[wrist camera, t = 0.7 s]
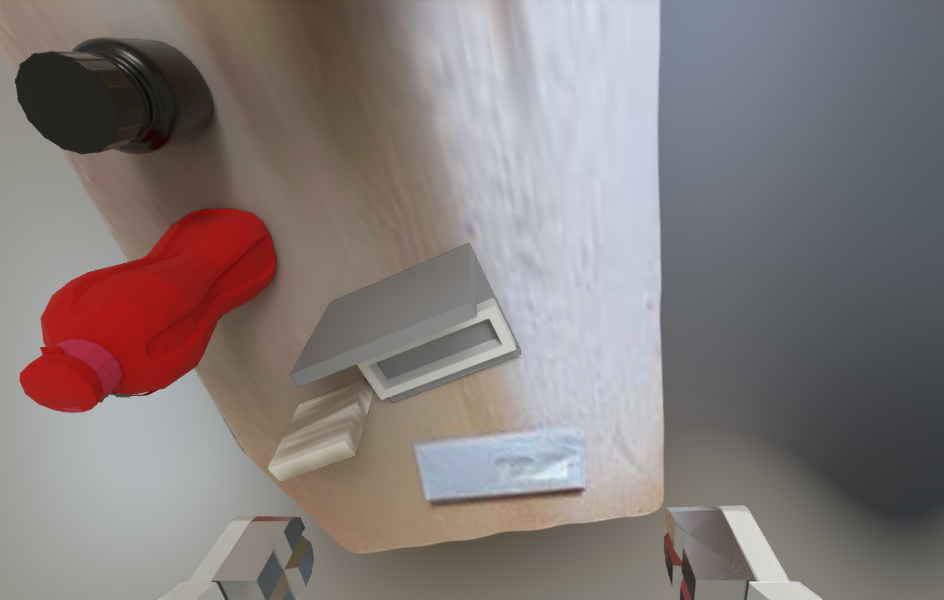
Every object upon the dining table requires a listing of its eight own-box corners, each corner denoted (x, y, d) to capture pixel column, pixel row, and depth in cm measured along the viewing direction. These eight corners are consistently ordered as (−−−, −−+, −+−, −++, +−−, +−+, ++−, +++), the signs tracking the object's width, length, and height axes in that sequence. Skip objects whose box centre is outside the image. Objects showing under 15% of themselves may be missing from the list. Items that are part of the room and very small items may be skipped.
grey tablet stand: (330, 302, 54) (288, 375, 41) (469, 242, 50) (469, 302, 38) (393, 396, 60) (374, 483, 48) (520, 349, 57) (535, 429, 45)
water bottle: (210, 298, 53) (29, 467, 31) (180, 206, 48) (-64, 331, 26) (289, 296, 53) (163, 464, 31) (267, 204, 48) (97, 326, 26)
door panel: (299, 403, 61) (267, 468, 51) (364, 378, 59) (344, 440, 49) (310, 417, 62) (281, 483, 52) (375, 392, 60) (357, 457, 50)
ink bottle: (90, 60, 42) (-37, 61, 31) (168, 17, 40) (62, 2, 30) (162, 161, 46) (71, 191, 35) (235, 125, 45) (163, 145, 34)
